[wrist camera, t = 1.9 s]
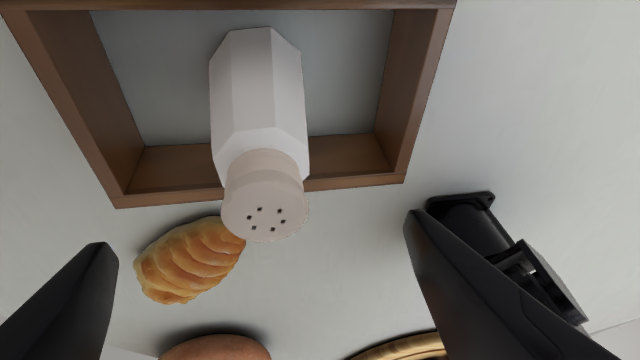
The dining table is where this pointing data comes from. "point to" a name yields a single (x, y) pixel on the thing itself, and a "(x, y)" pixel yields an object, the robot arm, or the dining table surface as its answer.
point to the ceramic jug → (218, 349)
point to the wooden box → (196, 159)
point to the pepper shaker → (259, 134)
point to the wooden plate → (408, 349)
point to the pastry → (188, 260)
